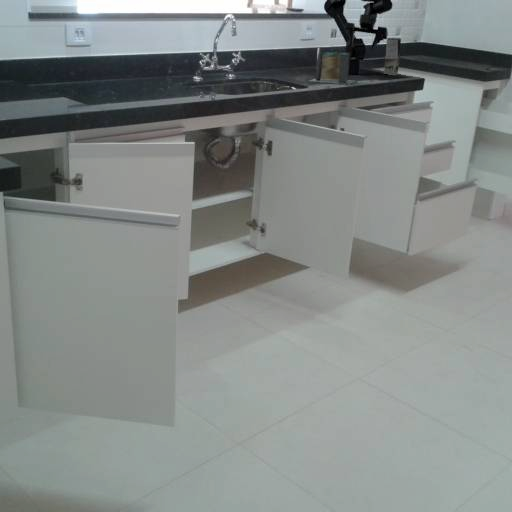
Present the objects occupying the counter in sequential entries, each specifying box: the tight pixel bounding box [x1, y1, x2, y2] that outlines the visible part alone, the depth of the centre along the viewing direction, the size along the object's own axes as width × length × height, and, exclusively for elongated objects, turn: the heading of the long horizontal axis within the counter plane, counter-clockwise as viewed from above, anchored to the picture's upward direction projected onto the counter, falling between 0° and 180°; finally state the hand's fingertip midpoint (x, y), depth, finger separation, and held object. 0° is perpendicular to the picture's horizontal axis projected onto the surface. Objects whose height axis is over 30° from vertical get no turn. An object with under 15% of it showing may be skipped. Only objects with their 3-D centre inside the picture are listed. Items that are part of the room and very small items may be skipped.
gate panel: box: [321, 52, 350, 80], centre depth 306 cm, size 12×1×11 cm, turn 95°
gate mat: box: [308, 77, 357, 85], centre depth 307 cm, size 18×11×1 cm, turn 67°
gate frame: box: [315, 47, 349, 84], centre depth 302 cm, size 14×2×14 cm, turn 59°
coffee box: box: [383, 37, 402, 76], centre depth 334 cm, size 9×6×16 cm
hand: (361, 48), depth 313 cm, fingers open, 9 cm apart
